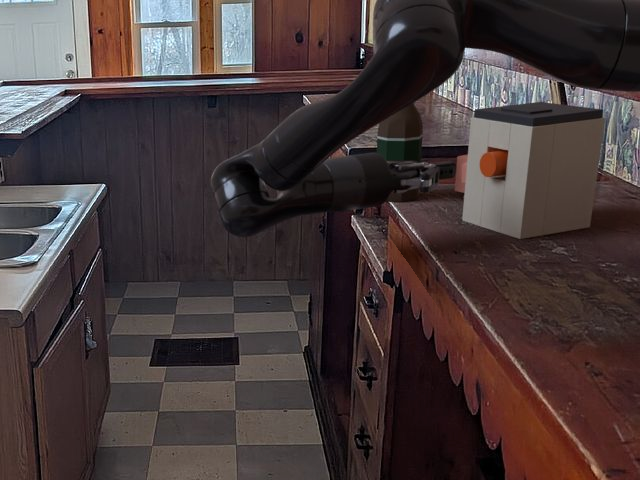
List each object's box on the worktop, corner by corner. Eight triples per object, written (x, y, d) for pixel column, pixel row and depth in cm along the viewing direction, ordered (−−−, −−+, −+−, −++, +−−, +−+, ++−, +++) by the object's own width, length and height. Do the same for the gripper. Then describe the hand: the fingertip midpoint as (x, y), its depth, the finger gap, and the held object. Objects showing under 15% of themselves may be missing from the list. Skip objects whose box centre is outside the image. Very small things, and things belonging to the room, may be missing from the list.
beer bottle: (403, 204, 149) (411, 58, 140) (365, 199, 154) (371, 57, 145) (427, 196, 154) (437, 54, 144) (390, 191, 159) (397, 53, 150)
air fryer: (528, 210, 141) (540, 99, 134) (589, 227, 130) (607, 107, 123) (462, 220, 137) (471, 107, 130) (519, 239, 126) (533, 116, 119)
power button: (500, 172, 131) (502, 148, 129) (516, 175, 128) (519, 151, 126) (478, 175, 129) (480, 150, 128) (494, 179, 126) (497, 154, 125)
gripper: (377, 163, 113) (485, 149, 118) (325, 149, 124) (426, 137, 130) (374, 219, 116) (480, 203, 121) (323, 200, 127) (422, 186, 133)
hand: (452, 169), depth 125 cm, fingers closed
